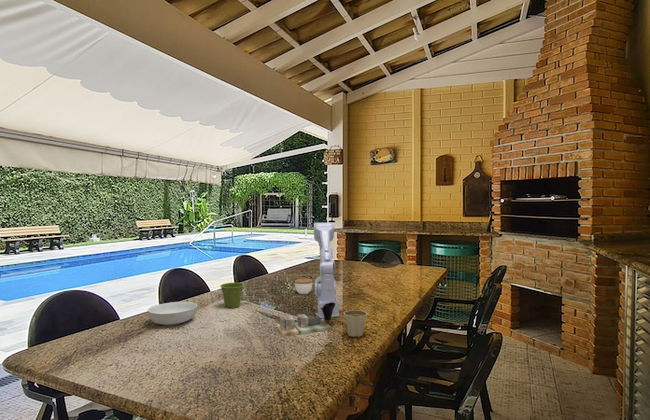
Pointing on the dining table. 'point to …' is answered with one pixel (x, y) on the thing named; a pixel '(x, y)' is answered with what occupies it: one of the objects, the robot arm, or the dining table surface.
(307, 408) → the dining table surface
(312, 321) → the charcoal brick
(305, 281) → the lidded jar
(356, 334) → the flower pot
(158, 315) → the serving bowl
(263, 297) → the dining table surface
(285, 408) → the dining table surface
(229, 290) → the plant pot
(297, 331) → the base
